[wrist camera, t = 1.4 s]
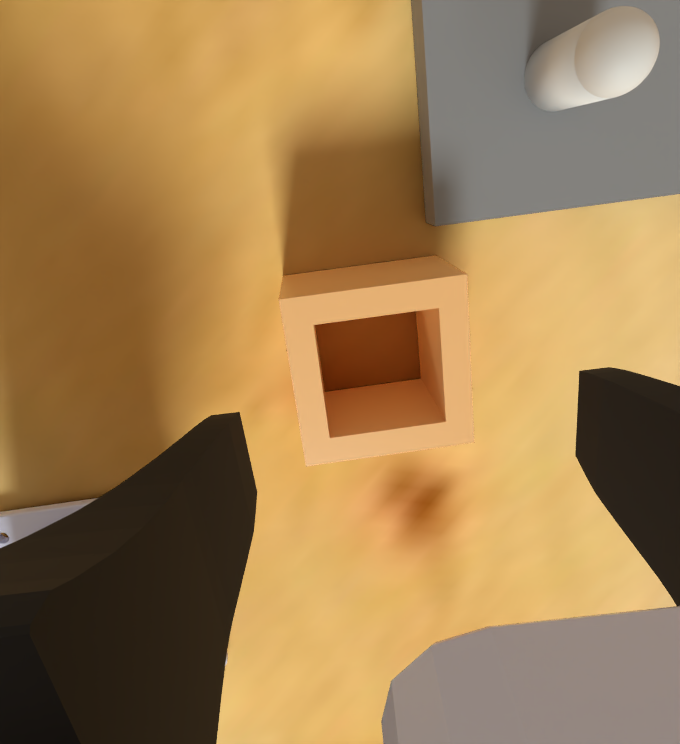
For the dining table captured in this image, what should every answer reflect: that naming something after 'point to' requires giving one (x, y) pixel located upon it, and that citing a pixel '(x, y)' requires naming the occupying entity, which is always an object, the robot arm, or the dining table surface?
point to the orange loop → (391, 400)
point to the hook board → (513, 136)
